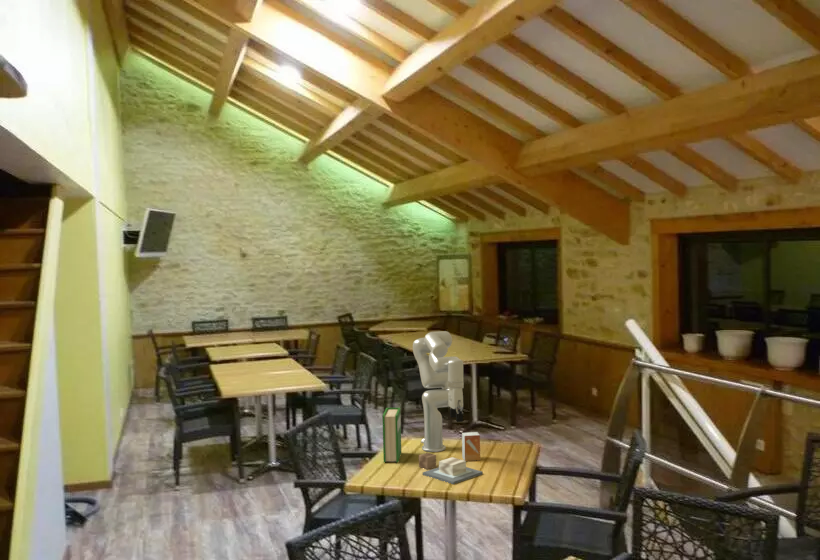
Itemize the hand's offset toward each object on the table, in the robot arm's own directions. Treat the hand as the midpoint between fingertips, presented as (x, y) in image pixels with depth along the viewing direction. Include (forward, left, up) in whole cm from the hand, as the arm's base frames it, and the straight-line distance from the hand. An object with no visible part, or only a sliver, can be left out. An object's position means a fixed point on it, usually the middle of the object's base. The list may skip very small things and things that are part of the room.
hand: (456, 419), depth 339 cm
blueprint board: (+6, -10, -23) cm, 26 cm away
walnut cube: (-11, -10, -24) cm, 28 cm away
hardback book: (-35, -12, -24) cm, 44 cm away
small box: (-4, +14, -24) cm, 28 cm away
